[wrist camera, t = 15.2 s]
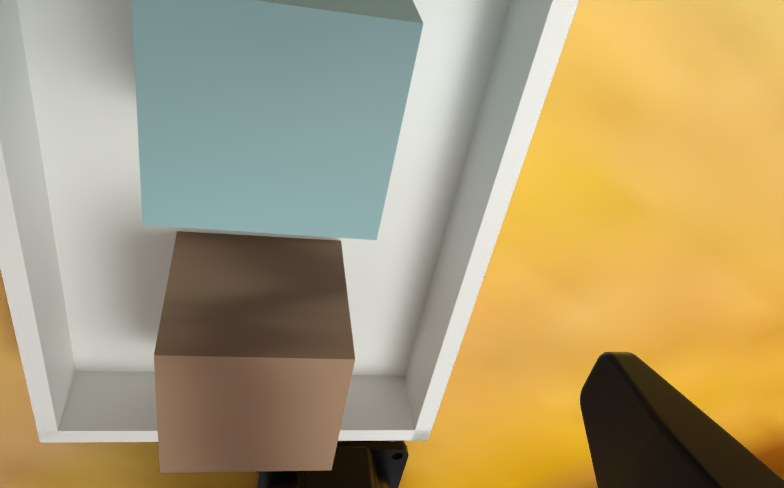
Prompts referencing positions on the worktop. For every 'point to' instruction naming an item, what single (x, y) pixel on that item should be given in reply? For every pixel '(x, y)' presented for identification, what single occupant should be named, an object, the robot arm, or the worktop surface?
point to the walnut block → (252, 354)
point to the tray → (156, 243)
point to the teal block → (271, 112)
